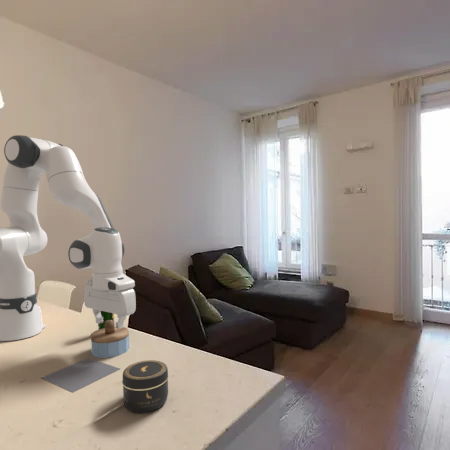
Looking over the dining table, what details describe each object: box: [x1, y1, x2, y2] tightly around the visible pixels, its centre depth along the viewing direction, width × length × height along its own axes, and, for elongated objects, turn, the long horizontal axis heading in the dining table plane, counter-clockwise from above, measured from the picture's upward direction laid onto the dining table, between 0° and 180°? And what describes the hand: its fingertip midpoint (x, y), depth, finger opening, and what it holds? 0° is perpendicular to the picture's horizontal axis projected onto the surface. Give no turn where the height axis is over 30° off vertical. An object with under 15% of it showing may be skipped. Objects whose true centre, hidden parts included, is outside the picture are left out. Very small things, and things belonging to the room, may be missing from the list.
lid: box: [90, 319, 130, 343], centre depth 104 cm, size 11×11×5 cm
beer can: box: [97, 311, 115, 330], centre depth 121 cm, size 5×5×12 cm
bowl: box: [90, 334, 130, 359], centre depth 104 cm, size 11×11×5 cm
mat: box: [40, 357, 121, 393], centre depth 89 cm, size 14×14×1 cm
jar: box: [122, 359, 169, 414], centre depth 76 cm, size 10×10×8 cm
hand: (109, 325), depth 104 cm, fingers open, 8 cm apart
